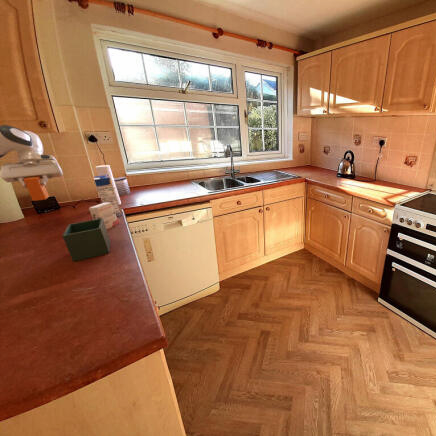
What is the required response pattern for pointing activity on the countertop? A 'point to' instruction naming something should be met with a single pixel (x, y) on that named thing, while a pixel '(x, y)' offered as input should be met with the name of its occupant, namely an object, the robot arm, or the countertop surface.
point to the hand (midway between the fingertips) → (34, 185)
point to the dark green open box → (87, 239)
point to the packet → (36, 188)
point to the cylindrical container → (107, 171)
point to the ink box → (104, 214)
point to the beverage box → (107, 192)
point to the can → (122, 186)
